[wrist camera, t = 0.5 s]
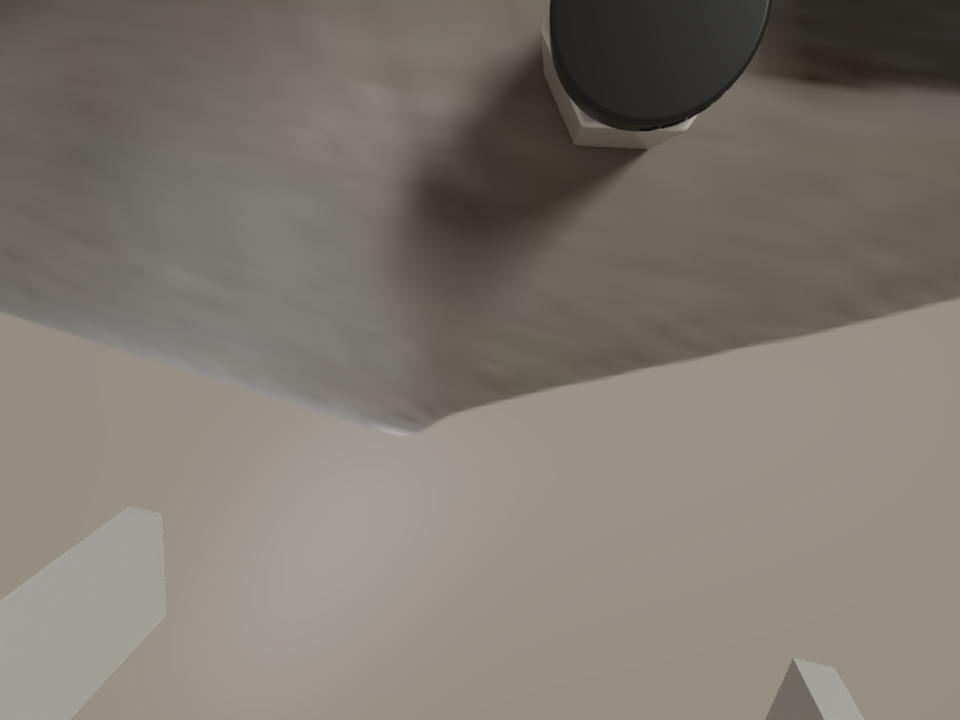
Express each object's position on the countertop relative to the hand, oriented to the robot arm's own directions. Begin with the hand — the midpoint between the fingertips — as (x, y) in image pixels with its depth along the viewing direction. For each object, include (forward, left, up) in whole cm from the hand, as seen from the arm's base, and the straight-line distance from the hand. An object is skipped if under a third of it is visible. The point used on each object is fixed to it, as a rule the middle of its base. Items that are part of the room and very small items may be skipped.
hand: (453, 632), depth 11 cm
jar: (-16, +2, -27) cm, 31 cm away
